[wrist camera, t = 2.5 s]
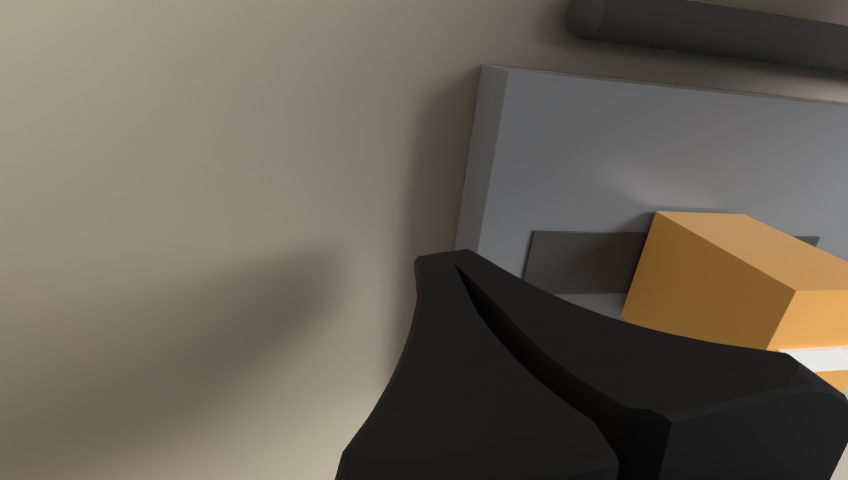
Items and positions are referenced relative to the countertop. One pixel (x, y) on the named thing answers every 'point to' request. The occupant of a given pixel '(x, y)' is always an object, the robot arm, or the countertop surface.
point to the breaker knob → (743, 289)
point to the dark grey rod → (711, 31)
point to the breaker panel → (638, 173)
